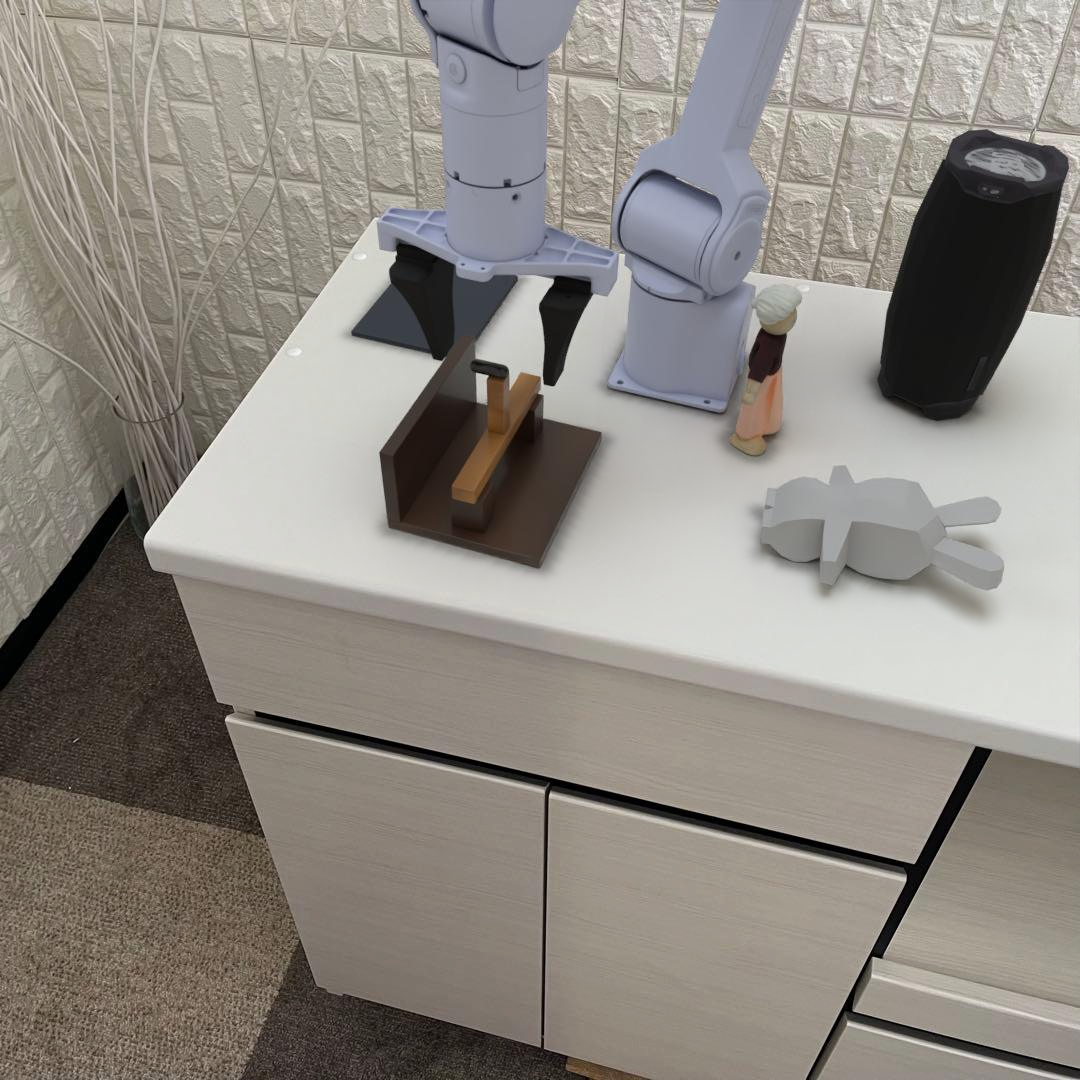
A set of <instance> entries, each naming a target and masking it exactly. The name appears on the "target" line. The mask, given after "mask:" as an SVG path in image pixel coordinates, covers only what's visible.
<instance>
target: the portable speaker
mask: <svg viewBox="0 0 1080 1080" xmlns="http://www.w3.org/2000/svg"><path fill="white" fill-rule="evenodd" d="M940 162H941V163H940V164H939V167H938V168H937V171H936V173H935V175H934V177H933V179H932V181H931V183H930V185H929V187H928V189H927V192H926V193H925V195H924V197H923V200H922V201H921V204H920V206H919V208H918V210H917V212H916V214H915V216H914V219H913V221H912V224H911V228H910V231H909V235H908V238H907V242H906V245H905V248H904V252H903V255H902V259H901V261H900V265H899V268H898V272H897V274H896V275H897V276H896V278H895V281H894V282H895V283H894V286H893V288H892V291H891V296H890V300H889V302H888V306H887V308H886V314H885V321H884V330H883V337H882V345H881V353H880V359H879V360H880V361H879V365H880V368H879V372H878V375H877V377H876V380H877V383H878V386H879V389H880V391H881V394H882V396H886V397H893V396H895V397H898V398H900V399H902V400H904V401H906V402H909V403H911V404H912V405H915V406H917V407H919V408H921V409H922V411H923V412H924V414H925V416H926V417H927V418H930V419H933V420H936V421H941V420H950V419H954V418H961V417H963V416H964V415H965V414H967V413H969V411H971V410H972V408H973V407H974V405H975V403H976V402H977V401H978V399H979V397H981V396H983V395H984V393H985V391H986V390H987V388H988V386H989V384H990V382H991V381H992V379H993V377H994V375H995V374H996V371H997V369H998V368H999V366H1000V364H1001V362H1002V360H1003V358H1004V357H1005V355H1006V354H1007V352H1008V349H1009V348H1010V346H1011V344H1012V342H1013V341H1014V339H1015V336H1016V335H1017V333H1018V331H1019V329H1020V327H1021V326H1022V323H1023V321H1024V318H1025V315H1026V313H1027V311H1028V308H1029V305H1030V302H1031V299H1032V297H1033V295H1034V292H1035V290H1036V287H1037V284H1038V283H1039V280H1040V277H1041V274H1042V272H1043V269H1044V267H1045V264H1046V261H1047V259H1048V256H1049V254H1050V251H1051V249H1052V244H1053V241H1054V235H1055V229H1056V224H1057V220H1058V219H1057V218H1058V213H1059V207H1060V203H1061V197H1062V193H1063V187H1064V185H1065V181H1066V178H1067V176H1068V173H1069V170H1070V163H1069V157H1068V156H1067V155H1066V154H1065V153H1063V152H1062V151H1061V150H1060V149H1059V148H1057V147H1056V146H1055V145H1050V144H1037V143H1034V142H1030V141H1026V140H1021V139H1018V138H1015V137H1010V136H1006V135H1004V134H1003V135H1002V134H998V133H996V132H994V131H992V130H990V129H987V128H986V129H971V130H969V129H968V130H967V131H964V132H963V133H960V134H959V135H957V136H955V137H954V138H952V139H951V142H950V144H949V147H948V149H947V153H946V155H945V158H942V160H941V161H940Z"/></svg>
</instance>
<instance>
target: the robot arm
mask: <svg viewBox="0 0 1080 1080" xmlns="http://www.w3.org/2000/svg"><path fill="white" fill-rule="evenodd" d="M581 1H582V0H409V4H410V7H411V10H412V12H413V15H414V16H415V19H416V20H417V21H418V23H419V25H420V26H422V28H423V29H424V30H425V32H426V34H427V36H428V39H429V40H428V41H429V48H430V62H432V63H434V64H435V68H436V69H437V70H438V86H439V87H438V88H439V101H440V102H439V103H440V105H439V106H440V107H439V108H440V121H441V122H440V123H441V143H442V144H441V145H442V163H443V164H442V165H443V178H444V200H445V201H444V202H445V209H424V208H423V209H422V208H421V209H420V208H416V209H415V208H404V207H398V206H389V207H388V209H386V210H385V211H384V213H382V215H381V216H379V218H377V220H376V228H377V239H378V248H379V250H381V251H386V252H390V253H396V255H395V261H394V262H393V263H392V264H391V266H390V267H389V268H388V274H389V275H388V277H389V280H390V284H391V283H392V284H393V285H394V286H395V287H396V289H397V290H398V291H399V292H400V293H401V294H402V296H403V297H404V298H405V300H406V301H407V303H408V304H409V306H410V307H411V309H412V311H413V312H414V314H415V316H416V318H417V320H418V322H419V324H420V326H421V328H422V331H423V333H424V336H425V338H426V341H427V343H428V346H429V349H430V352H431V353H430V355H431V358H432V359H433V360H435V361H439V362H443V361H444V360H445V358H446V357H445V356H446V355H447V353H448V352H449V350H450V349H451V348H452V346H453V345H454V334H455V325H454V310H453V275H454V264H455V265H456V274H457V275H458V276H459V277H461V278H465V279H470V280H474V281H479V282H486V281H489V280H490V279H491V278H492V277H493V275H517V276H535V277H536V276H537V277H541V278H545V279H550V280H551V279H552V280H553V282H552V284H551V286H550V287H549V288H548V289H547V291H546V292H545V294H544V295H543V297H542V299H541V300H540V302H539V303H538V311H539V315H540V319H541V323H542V324H541V325H542V333H543V344H544V345H543V346H544V347H543V348H544V349H543V363H542V381H543V385H544V386H548V387H555V386H556V385H557V383H558V381H559V379H560V378H561V376H562V374H563V372H564V370H565V365H566V360H567V357H568V352H569V348H570V345H571V343H572V339H573V337H574V334H575V331H576V329H577V327H578V324H579V322H580V320H581V318H582V316H583V314H584V312H585V309H586V308H587V306H588V304H589V303H590V301H591V299H592V297H593V296H594V295H598V296H602V297H609V295H610V293H611V292H612V290H613V288H614V287H615V285H616V283H617V281H618V273H619V260H620V251H619V250H617V249H611V248H606V247H604V246H600V245H597V244H594V243H592V242H589V241H587V240H585V239H582V238H580V237H577V236H575V235H573V234H571V233H569V232H566V231H564V230H561V229H559V228H557V227H554V226H553V225H549V224H547V223H546V199H547V198H546V196H547V195H546V194H547V153H548V152H547V151H548V150H547V147H548V107H549V104H548V103H549V61H550V60H549V59H550V57H549V56H550V55H551V54H552V53H555V52H556V51H557V50H558V49H559V48H560V46H561V45H562V43H563V42H564V40H565V39H566V36H567V35H568V32H569V31H570V28H571V25H572V23H573V20H574V16H575V12H576V10H577V8H578V6H579V4H580V3H581ZM804 1H805V0H719V1H718V4H717V7H716V11H715V13H714V17H713V20H712V23H711V26H710V29H709V32H708V35H707V38H706V41H705V44H704V47H703V51H702V53H701V55H700V56H701V57H700V60H699V63H698V66H697V68H696V72H695V74H694V78H693V81H692V84H691V87H690V90H689V93H688V96H687V99H686V101H685V105H684V108H683V111H682V114H681V118H680V120H679V124H678V127H677V129H676V132H675V133H673V134H672V135H670V136H667V137H665V138H663V139H660V140H659V141H657V142H654V143H652V144H650V145H648V146H646V147H644V148H643V149H642V150H640V152H639V155H638V157H637V161H636V164H635V166H634V169H633V171H632V173H631V175H630V176H629V178H628V180H627V182H626V184H625V185H624V186H623V188H622V189H621V190H620V193H619V194H618V196H617V198H616V201H615V203H614V206H613V210H612V215H611V235H612V239H613V242H614V244H615V245H616V246H617V247H618V249H620V250H622V251H624V262H623V265H624V266H625V267H626V268H628V270H630V272H631V275H630V285H629V286H630V287H629V297H628V309H627V320H626V321H627V322H626V329H625V330H626V331H625V341H624V348H623V349H622V352H621V354H620V356H619V357H618V360H617V362H616V363H615V366H614V368H613V369H612V371H611V373H610V376H609V377H608V379H607V387H609V388H610V389H613V390H617V391H622V392H627V393H631V394H635V395H640V396H643V397H647V398H648V397H649V398H652V399H657V400H662V401H666V402H671V403H675V404H679V405H684V406H688V407H692V408H697V409H702V410H706V411H710V412H715V413H724V412H725V411H726V410H727V407H728V405H729V402H730V400H731V396H732V393H733V390H734V388H735V385H736V382H737V379H738V377H739V376H741V375H742V373H743V370H744V367H745V364H746V358H747V352H746V348H747V341H748V336H749V333H750V332H749V331H750V326H751V322H752V316H753V310H754V308H752V307H751V301H752V300H753V299H754V298H755V297H756V293H757V286H756V285H755V284H752V283H750V282H747V281H744V279H746V277H747V276H748V275H749V273H750V271H751V270H752V269H753V267H754V264H755V262H756V260H757V258H758V255H759V252H760V249H761V246H762V237H763V234H762V233H763V226H764V221H765V217H766V214H767V211H768V209H769V208H768V207H769V203H770V201H771V198H772V197H771V193H770V190H769V189H768V186H767V185H766V183H765V182H764V180H763V178H762V176H761V174H760V173H759V171H758V169H757V167H756V166H755V164H754V162H753V160H752V157H751V155H750V153H749V152H750V149H751V147H752V143H753V141H754V139H755V136H756V133H757V130H758V128H759V125H760V122H761V119H762V117H763V114H764V111H765V108H766V105H767V103H768V100H769V98H770V94H771V91H772V89H773V87H774V84H775V81H776V78H777V75H778V72H779V70H780V68H781V64H782V61H783V59H784V56H785V53H786V50H787V48H788V45H789V42H790V40H791V37H792V33H793V31H794V28H795V26H796V23H797V20H798V19H799V14H800V13H801V9H802V6H803V3H804Z"/></svg>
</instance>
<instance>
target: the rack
mask: <svg viewBox="0 0 1080 1080" xmlns="http://www.w3.org/2000/svg"><path fill="white" fill-rule="evenodd" d="M474 359H477V357H476V341H475V337H474V336H469V335H465V334H462V335H461V337H460V338H459V340H458V341H457V342H456V344H455V345H454V347H453V348H452V350H451V351H450V352H449V354H448V355H447V357H444V359H443V360H442V361H441V364H440V365H439V366H438V368H437V370H436V371H435V372H434V373H433V375H432V376H431V378H430V379H429V380H428V382H427V384H426V385H425V386H424V388H423V389H422V391H421V392H420V394H419V395H418V396H417V398H416V400H415V401H414V402H413V404H412V405H411V406H410V408H409V410H408V411H407V412H406V414H405V415H404V417H403V418H402V419H401V420H400V422H399V423H398V425H396V428H395V429H394V430H393V432H392V434H391V435H390V436H389V438H388V439H387V440H386V442H385V444H383V446H382V448H381V449H380V451H379V452H378V455H379V463H380V471H381V479H382V486H383V495H384V496H383V497H384V503H385V511H386V519H387V526H388V528H389V529H394V530H397V531H401V532H404V533H408V534H412V535H415V536H419V537H423V538H427V539H431V540H435V541H438V542H442V543H445V544H449V545H453V546H456V547H460V548H464V549H467V550H471V551H475V552H478V553H483V554H486V555H489V556H493V557H497V558H501V559H505V560H508V561H512V562H515V563H519V564H524V565H527V566H530V567H534V568H537V569H539V568H541V565H542V563H543V561H544V559H545V557H546V555H547V553H548V551H549V549H550V547H551V545H552V543H553V541H554V538H555V537H556V535H557V533H558V530H559V529H560V527H561V524H562V522H563V520H564V518H565V517H566V515H567V512H568V509H569V507H570V506H571V503H572V501H573V499H574V497H575V495H576V494H577V491H578V488H580V485H581V482H582V481H583V478H584V476H585V475H586V472H587V471H588V468H589V466H590V464H591V462H592V460H593V458H594V456H595V454H596V451H597V450H598V447H599V446H600V444H601V441H602V437H603V432H602V431H599V430H594V429H591V428H586V427H582V426H579V425H578V426H577V425H574V424H569V423H565V422H561V421H557V420H552V419H549V418H545V417H544V404H545V403H544V401H545V395H544V394H542V393H538V395H537V397H536V398H535V400H534V402H533V403H532V405H531V407H530V409H529V410H528V412H527V414H526V416H525V417H524V419H523V421H522V423H521V424H520V426H519V428H518V429H517V431H516V433H515V435H514V436H513V438H512V440H511V442H510V443H509V445H508V447H507V449H506V450H505V452H504V454H503V456H502V457H501V459H500V461H499V462H498V464H497V466H496V468H495V469H494V471H493V473H492V475H491V476H490V478H489V480H488V482H487V483H486V485H485V487H484V489H483V490H482V492H481V494H480V495H479V497H478V499H477V501H476V502H475V504H471V503H467V502H464V501H460V500H456V499H453V498H452V484H453V483H454V481H455V479H456V478H457V476H458V475H459V473H460V471H461V470H462V468H463V466H464V465H465V463H466V461H467V460H468V458H469V456H470V455H471V453H472V452H473V450H474V448H475V447H476V445H477V443H478V442H479V440H480V438H481V437H482V435H483V433H484V432H485V430H486V429H487V427H488V414H487V403H486V404H485V403H482V402H478V395H477V394H478V393H477V392H478V391H477V388H478V387H477V373H475V372H473V371H472V370H471V369H470V362H471V361H472V360H474Z"/></svg>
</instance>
